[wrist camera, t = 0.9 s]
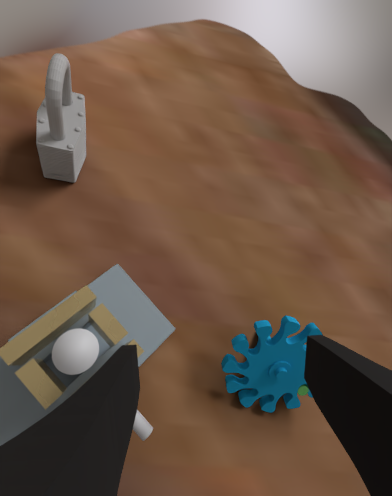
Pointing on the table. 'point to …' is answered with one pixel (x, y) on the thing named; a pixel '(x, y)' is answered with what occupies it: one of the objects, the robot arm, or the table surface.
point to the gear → (270, 365)
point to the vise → (84, 352)
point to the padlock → (61, 124)
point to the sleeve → (48, 329)
